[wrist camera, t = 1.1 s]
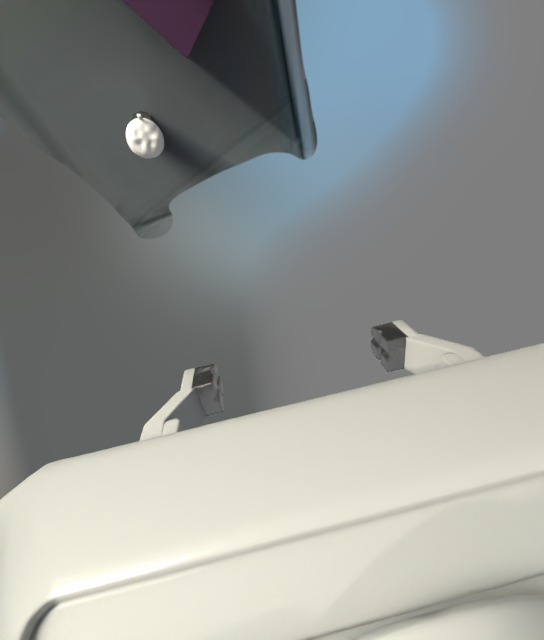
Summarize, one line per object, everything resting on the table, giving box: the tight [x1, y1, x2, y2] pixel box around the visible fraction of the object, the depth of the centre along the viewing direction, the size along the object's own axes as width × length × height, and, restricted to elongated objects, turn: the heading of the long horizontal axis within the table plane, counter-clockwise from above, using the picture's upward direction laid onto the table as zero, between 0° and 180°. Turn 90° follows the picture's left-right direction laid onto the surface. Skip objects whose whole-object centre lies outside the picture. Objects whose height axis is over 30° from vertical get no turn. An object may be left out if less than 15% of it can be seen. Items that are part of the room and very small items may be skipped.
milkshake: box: [126, 111, 164, 158], centre depth 39 cm, size 4×5×10 cm
